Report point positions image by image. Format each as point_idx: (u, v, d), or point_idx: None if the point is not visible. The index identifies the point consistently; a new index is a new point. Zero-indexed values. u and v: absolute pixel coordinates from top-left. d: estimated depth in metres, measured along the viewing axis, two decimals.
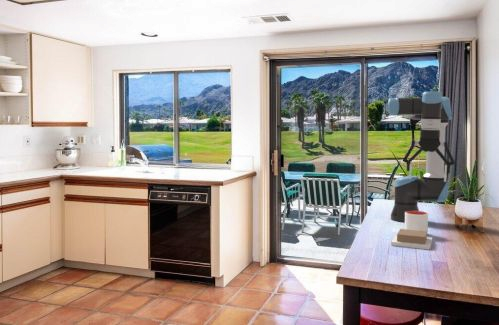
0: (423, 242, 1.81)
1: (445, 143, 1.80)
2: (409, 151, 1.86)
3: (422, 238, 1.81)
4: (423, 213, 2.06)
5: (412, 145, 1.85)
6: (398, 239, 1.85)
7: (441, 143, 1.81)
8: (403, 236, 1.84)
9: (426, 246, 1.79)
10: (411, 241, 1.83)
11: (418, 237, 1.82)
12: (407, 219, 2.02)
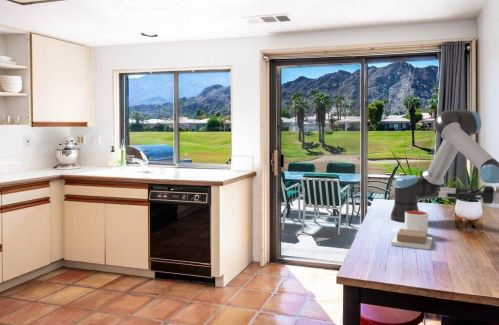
0: (423, 242, 1.81)
1: None
2: (468, 198, 1.87)
3: (422, 238, 1.81)
4: (423, 213, 2.06)
5: None
6: (398, 239, 1.85)
7: None
8: (403, 236, 1.84)
9: (426, 246, 1.79)
10: (411, 241, 1.83)
11: (418, 237, 1.82)
12: (407, 219, 2.02)
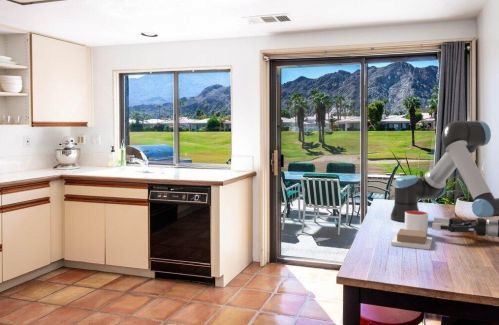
0: (423, 242, 1.81)
1: None
2: None
3: (422, 238, 1.81)
4: (423, 213, 2.06)
5: None
6: (398, 239, 1.85)
7: None
8: (403, 236, 1.84)
9: (426, 246, 1.79)
10: (411, 241, 1.83)
11: (418, 237, 1.82)
12: (407, 219, 2.02)
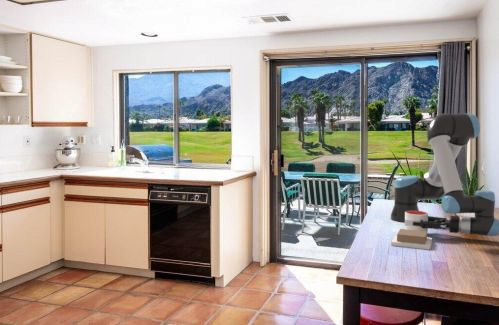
0: (423, 242, 1.81)
1: None
2: None
3: (422, 238, 1.81)
4: (423, 213, 2.06)
5: None
6: (398, 239, 1.85)
7: None
8: (403, 236, 1.84)
9: (426, 246, 1.79)
10: (411, 241, 1.83)
11: (418, 237, 1.82)
12: (407, 219, 2.02)
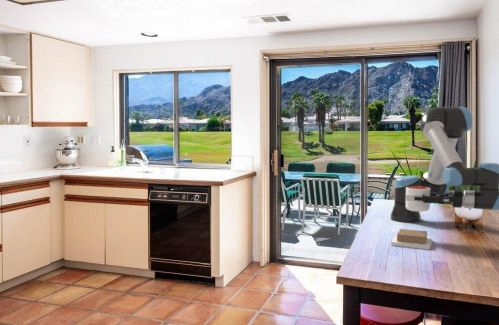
0: (423, 242, 1.81)
1: None
2: (436, 202, 1.86)
3: (422, 238, 1.81)
4: (425, 188, 1.98)
5: None
6: (398, 239, 1.85)
7: None
8: (403, 236, 1.84)
9: (426, 246, 1.79)
10: (411, 241, 1.83)
11: (418, 237, 1.82)
12: (408, 194, 1.94)
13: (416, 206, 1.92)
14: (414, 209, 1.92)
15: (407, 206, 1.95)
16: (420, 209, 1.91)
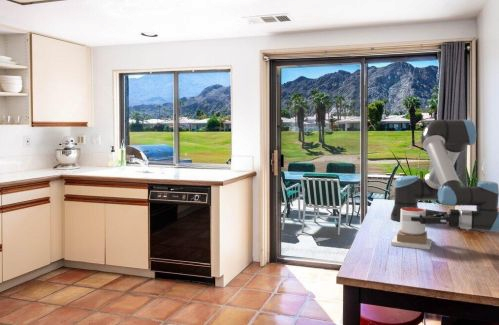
0: (423, 242, 1.81)
1: None
2: None
3: (422, 238, 1.81)
4: (420, 210, 1.89)
5: None
6: (398, 239, 1.85)
7: None
8: (403, 236, 1.84)
9: (426, 246, 1.79)
10: (411, 241, 1.83)
11: (418, 237, 1.82)
12: None
13: (411, 229, 1.83)
14: (409, 232, 1.84)
15: (401, 229, 1.87)
16: (415, 232, 1.83)
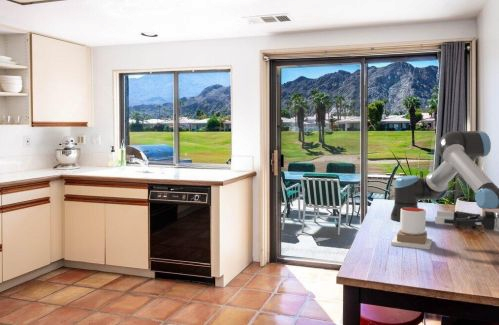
0: (423, 242, 1.81)
1: None
2: None
3: (422, 238, 1.81)
4: (420, 210, 1.89)
5: None
6: (398, 239, 1.85)
7: None
8: (403, 236, 1.84)
9: (426, 246, 1.79)
10: (411, 241, 1.83)
11: (418, 237, 1.82)
12: (403, 216, 1.86)
13: (411, 229, 1.83)
14: (409, 232, 1.84)
15: (401, 229, 1.87)
16: (415, 232, 1.83)
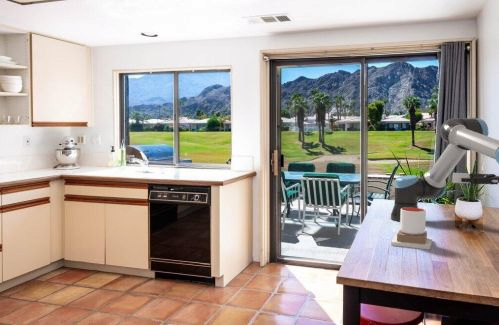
0: (423, 242, 1.81)
1: None
2: (484, 183, 1.75)
3: (422, 238, 1.81)
4: (420, 210, 1.89)
5: (491, 183, 1.75)
6: (398, 239, 1.85)
7: None
8: (403, 236, 1.84)
9: (426, 246, 1.79)
10: (411, 241, 1.83)
11: (418, 237, 1.82)
12: (403, 216, 1.86)
13: (411, 229, 1.83)
14: (409, 232, 1.84)
15: (401, 229, 1.87)
16: (415, 232, 1.83)
